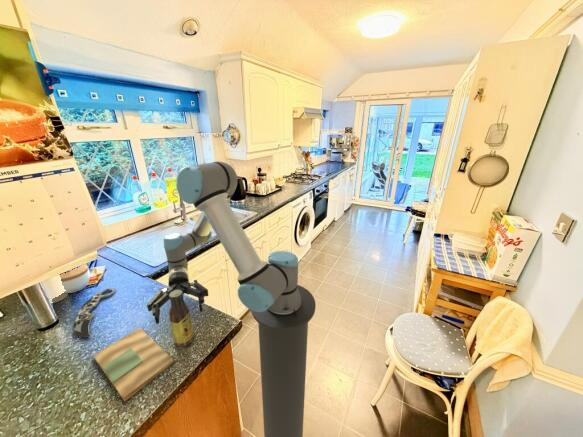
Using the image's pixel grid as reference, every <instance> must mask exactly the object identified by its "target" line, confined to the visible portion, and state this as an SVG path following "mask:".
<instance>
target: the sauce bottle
mask: <svg viewBox="0 0 583 437" xmlns="http://www.w3.org/2000/svg"><path fill="white" fill-rule="evenodd" d="M169 298H170V299H169V300H170V306H171V307H170V308H169V312H168V315H169V323H170V327H171V332H172V337H173V341H174V344H175V345H176V346H177V347H180V348H183V347H186V346H188V345H190V344H191V343H192V342H193V340H194V329H193V321H192V317H191V311H190V308H189V307H188V305H187V303H185V300H184V294H183V292H182V291H181V290H174V291H172V292H171V293H170V294H169Z"/></svg>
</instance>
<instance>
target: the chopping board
mask: <svg viewBox="0 0 583 437" xmlns="http://www.w3.org/2000/svg"><path fill="white" fill-rule="evenodd" d="M93 358H94V360H95V362H96V363H97V365H98V366H99V367H100V369H101V370H102V372H103V373H104V375H105V376H106V378H107V379H108V380H109V382H110V383H111V384H112V386H113V388H114V389H115V390H116V392H117V393H118V395H119V397H121V399H122V400H123V402H126V401H128V400H129V399H131V398H132V397H133V396H134V395H135V394H137V393H138V392H140V390H142V389H143V388H144V387H146V386H147V385H148V384H149V383H151V382H152V381H153V380H154V379H155V378H157V377H158V376H159V375H160V374H162V373H163V372H164V371H165V370H167V369H168V368H169V367H171V366H172V365H173V364H174V359H173V358H172V357H171V356H170V355H169V354H168V353H167V352H166V351H165V350H164V349H163V348H162V347H161V346H160V345H159V344H158V343H157V342H156V341H155V340H154V339H153V338H152V337H151V336H150V335H149V334H147V333H146V331H145V330H144V329H143V328H141V327H138V328H136V329H135V330H133V331H131V332H130V333H128V334H127V335H125V336H123V337H122V338H120V339H118V340H116V341H115V342H113V343H112V344H110V345H108V346H107V347H105V348H103V349H102V350H100V351H98V352H97V353H95V354H94V355H93Z"/></svg>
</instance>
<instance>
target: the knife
mask: <svg viewBox="0 0 583 437" xmlns="http://www.w3.org/2000/svg"><path fill="white" fill-rule="evenodd" d="M106 292H110V293H108V294H105V293H106ZM114 294H115V289H114V288H111V287H110V288H105V289H104V290H101V291H99V292H96V293H95V294H94V295H93V296H92V297H91V298H89V299H88V300H87V301H85V303H83V305H82V306H81V307H80V308H79V309H78V310H77V317H75V319H74V322H75V324H76V325H75V328H74V329H73V332H74V334H76V335H77V336H79V337H85V338H90V337H92V335H91V332H90V323H91V322H92V319H93V318H94V316H95V313H91V312H92V311H93V309H95V308H96V307H97V306H98V305H99V303H100V301H101V300H103V299H106V298H109V297H112V296H114Z"/></svg>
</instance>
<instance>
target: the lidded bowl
mask: <svg viewBox="0 0 583 437" xmlns="http://www.w3.org/2000/svg"><path fill="white" fill-rule="evenodd" d="M83 264H84V265H82V266H80V267H78V268H75V269H73V270H71V271H68V272H66V273H63V274H61V275H60V277H61V281H62V285H63V286H64V289H65V290H66V291H67V292H66V293H69V294H71V293H76V292H80V291H82V290H83V289H84V288H86V286H87V285H88V283H89V282H90V280H91V279H90V278H91V273H90V269H89V266H88V264H86V263H83Z"/></svg>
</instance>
